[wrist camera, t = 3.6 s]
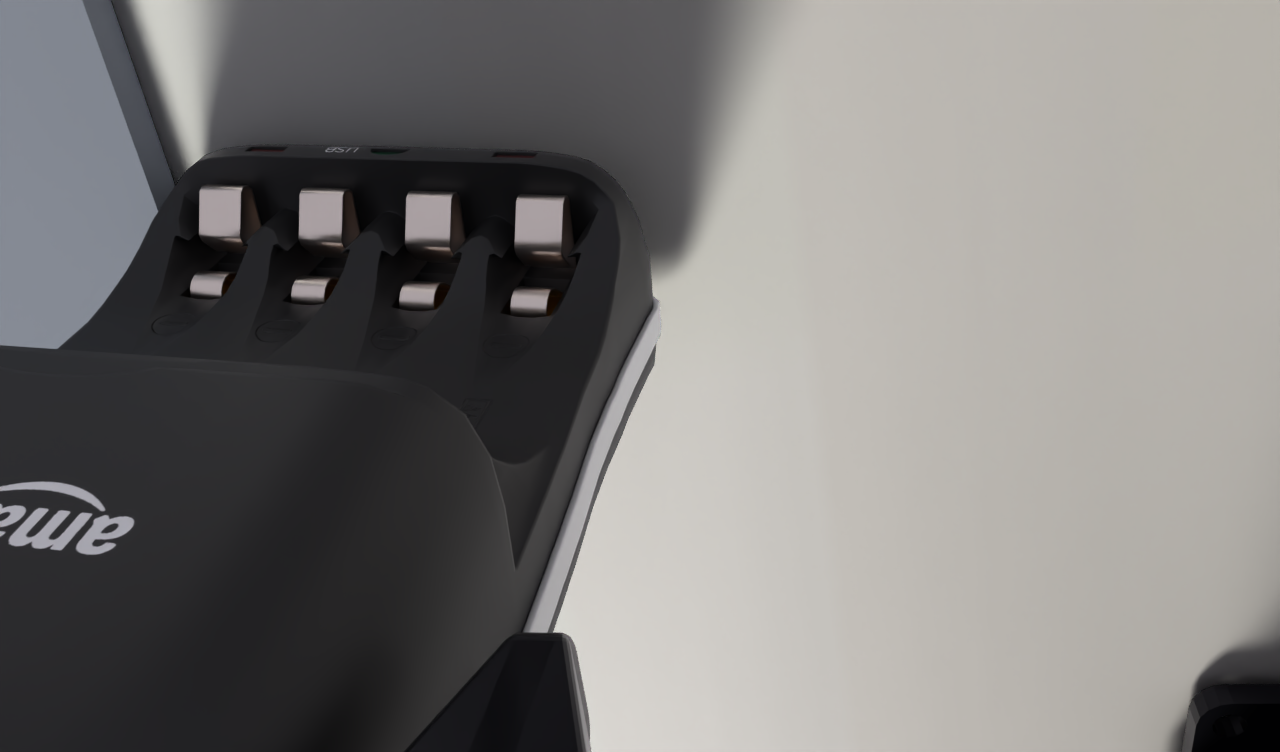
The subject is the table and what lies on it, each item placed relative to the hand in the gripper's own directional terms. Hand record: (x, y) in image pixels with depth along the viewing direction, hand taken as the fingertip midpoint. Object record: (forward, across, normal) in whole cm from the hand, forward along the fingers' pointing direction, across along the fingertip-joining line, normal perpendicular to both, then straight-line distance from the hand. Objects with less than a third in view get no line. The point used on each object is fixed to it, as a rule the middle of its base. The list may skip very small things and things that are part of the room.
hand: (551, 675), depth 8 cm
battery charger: (+8, +3, 0) cm, 9 cm away
